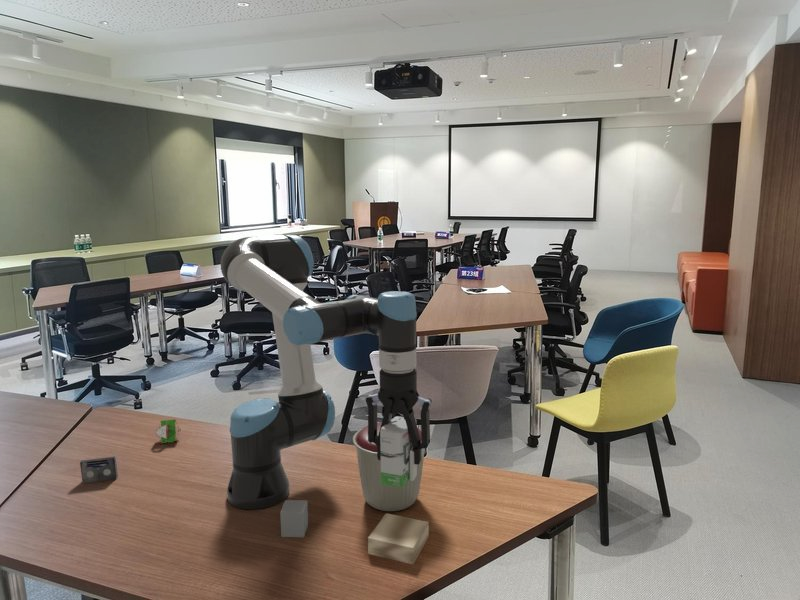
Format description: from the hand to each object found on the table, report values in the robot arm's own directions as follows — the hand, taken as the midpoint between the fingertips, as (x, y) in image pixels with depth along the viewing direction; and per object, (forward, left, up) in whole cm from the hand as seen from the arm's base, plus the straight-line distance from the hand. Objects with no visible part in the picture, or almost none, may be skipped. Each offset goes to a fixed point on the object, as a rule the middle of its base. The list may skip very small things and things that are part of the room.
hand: (399, 475), depth 119 cm
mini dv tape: (-85, +7, -16) cm, 87 cm away
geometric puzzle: (-83, +32, -16) cm, 91 cm away
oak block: (0, 0, -16) cm, 17 cm away
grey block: (-24, -1, -16) cm, 29 cm away
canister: (-7, +17, -16) cm, 25 cm away
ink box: (0, 0, 0) cm, 1 cm away
